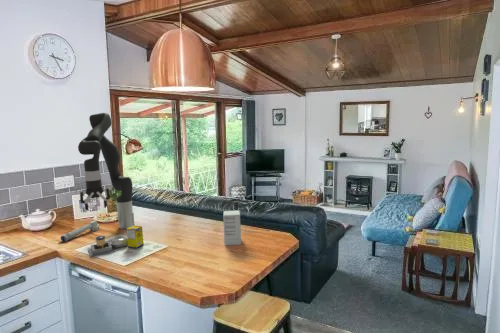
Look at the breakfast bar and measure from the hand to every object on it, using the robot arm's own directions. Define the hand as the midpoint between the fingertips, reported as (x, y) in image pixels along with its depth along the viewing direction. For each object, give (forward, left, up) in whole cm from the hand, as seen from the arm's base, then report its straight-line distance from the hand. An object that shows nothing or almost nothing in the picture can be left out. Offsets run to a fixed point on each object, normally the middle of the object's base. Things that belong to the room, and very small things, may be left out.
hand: (96, 208), depth 178 cm
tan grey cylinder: (0, +2, -22) cm, 22 cm away
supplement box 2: (-64, +31, -23) cm, 75 cm away
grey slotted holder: (-4, +2, -23) cm, 23 cm away
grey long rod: (+7, -33, -23) cm, 41 cm away
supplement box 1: (-17, +6, -23) cm, 29 cm away
